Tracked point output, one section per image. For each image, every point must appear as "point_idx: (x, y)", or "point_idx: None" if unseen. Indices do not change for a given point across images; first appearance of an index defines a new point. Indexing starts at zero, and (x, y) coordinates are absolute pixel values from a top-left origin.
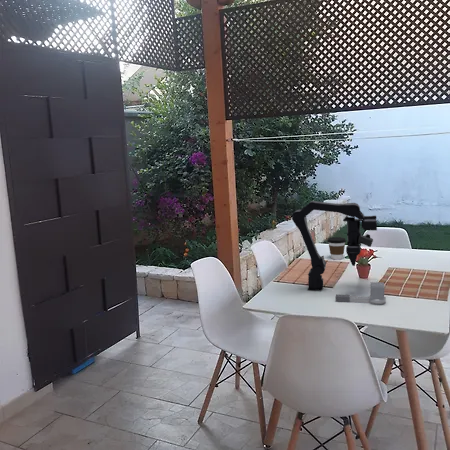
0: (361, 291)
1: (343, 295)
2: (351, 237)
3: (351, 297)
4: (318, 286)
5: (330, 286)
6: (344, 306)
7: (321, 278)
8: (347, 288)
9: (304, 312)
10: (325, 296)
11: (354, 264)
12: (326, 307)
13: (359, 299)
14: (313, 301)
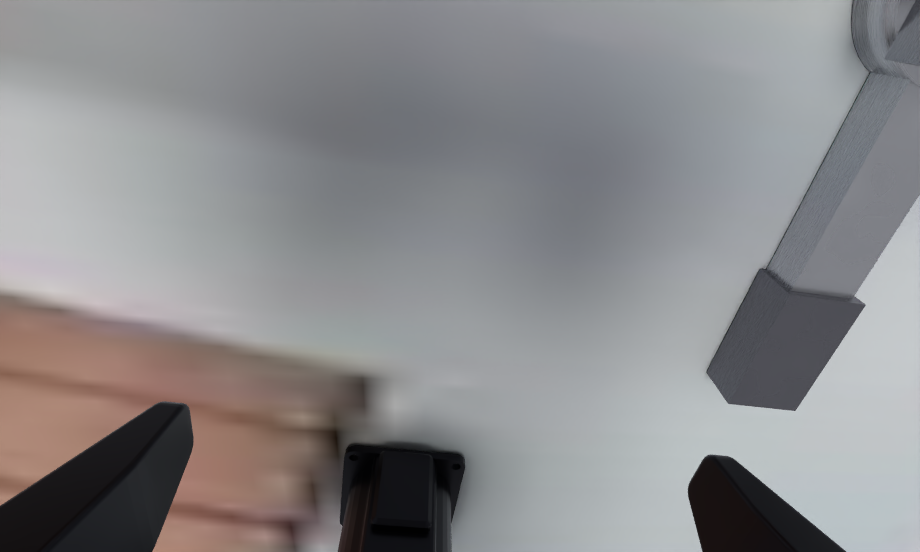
0: (516, 112)
1: (786, 350)
2: None
3: (843, 280)
4: (445, 497)
5: (335, 389)
6: (913, 327)
7: (432, 549)
8: (396, 252)
9: (896, 540)
10: (617, 434)
11: (758, 493)
12: (869, 439)
13: (901, 202)
14: None
